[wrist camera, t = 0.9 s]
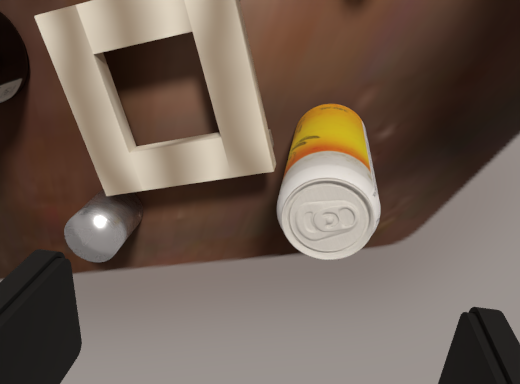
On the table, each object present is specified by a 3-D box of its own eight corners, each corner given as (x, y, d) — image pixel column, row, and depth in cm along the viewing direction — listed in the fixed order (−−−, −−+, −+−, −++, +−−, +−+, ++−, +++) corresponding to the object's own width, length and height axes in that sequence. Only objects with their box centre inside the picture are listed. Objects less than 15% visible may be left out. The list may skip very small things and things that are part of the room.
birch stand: (241, -35, 34) (227, -35, 30) (280, 149, 40) (273, 171, 36) (69, 10, 37) (34, 15, 33) (129, 173, 44) (106, 196, 39)
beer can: (287, 110, 38) (262, 183, 25) (359, 93, 37) (372, 162, 24) (303, 173, 41) (288, 272, 28) (371, 160, 39) (390, 257, 26)
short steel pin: (133, 182, 44) (105, 211, 39) (149, 226, 46) (125, 259, 41) (88, 189, 45) (55, 218, 40) (106, 231, 47) (77, 264, 42)
